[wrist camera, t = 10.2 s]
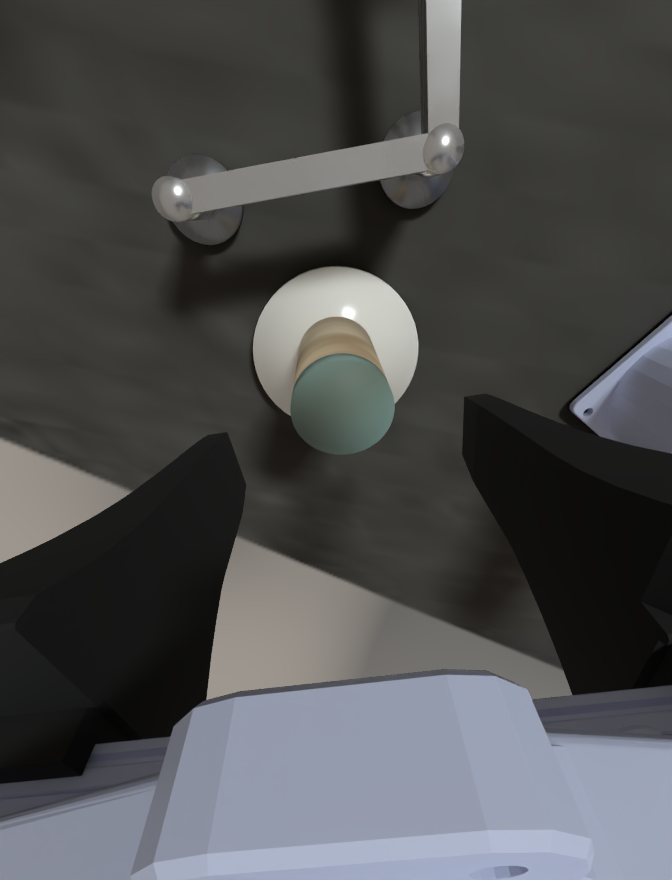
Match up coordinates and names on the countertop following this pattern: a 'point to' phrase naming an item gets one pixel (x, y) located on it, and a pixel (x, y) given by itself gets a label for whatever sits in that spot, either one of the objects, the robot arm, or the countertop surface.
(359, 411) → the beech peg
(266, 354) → the white flat disc
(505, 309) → the countertop surface
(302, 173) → the wire course
